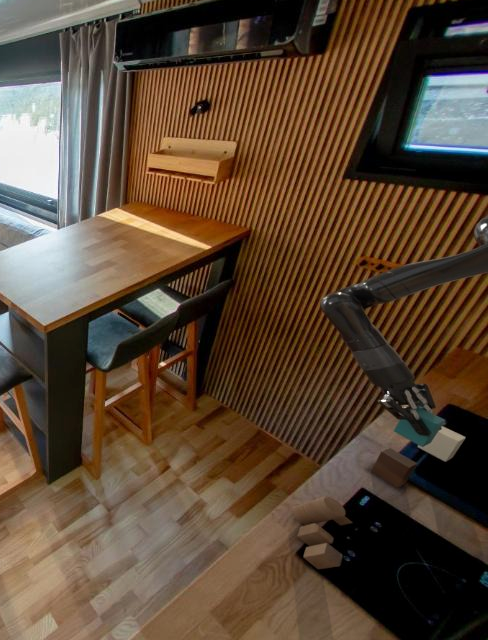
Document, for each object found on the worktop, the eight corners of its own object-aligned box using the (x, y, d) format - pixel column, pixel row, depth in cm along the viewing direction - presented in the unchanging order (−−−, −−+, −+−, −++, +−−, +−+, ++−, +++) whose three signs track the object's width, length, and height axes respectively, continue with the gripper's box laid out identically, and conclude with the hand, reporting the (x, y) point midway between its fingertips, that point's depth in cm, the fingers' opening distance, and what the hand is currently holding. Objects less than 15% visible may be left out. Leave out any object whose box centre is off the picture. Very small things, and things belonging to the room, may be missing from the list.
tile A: (424, 442, 101) (436, 423, 97) (452, 457, 96) (466, 437, 93) (417, 446, 100) (429, 427, 97) (445, 461, 96) (459, 441, 92)
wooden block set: (321, 578, 81) (361, 573, 74) (278, 543, 85) (312, 535, 78) (337, 518, 90) (374, 508, 83) (297, 488, 94) (330, 477, 87)
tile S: (401, 427, 92) (414, 404, 88) (430, 442, 87) (445, 420, 84) (393, 431, 91) (405, 408, 88) (422, 447, 87) (437, 424, 83)
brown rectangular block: (378, 467, 97) (389, 447, 94) (405, 483, 93) (417, 463, 89) (370, 471, 97) (381, 451, 93) (397, 488, 92) (409, 467, 89)
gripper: (379, 370, 86) (432, 444, 81) (418, 353, 89) (472, 422, 84) (344, 373, 93) (391, 441, 88) (382, 357, 96) (429, 422, 91)
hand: (430, 432), depth 86 cm, fingers closed on tile S, 3 cm apart
